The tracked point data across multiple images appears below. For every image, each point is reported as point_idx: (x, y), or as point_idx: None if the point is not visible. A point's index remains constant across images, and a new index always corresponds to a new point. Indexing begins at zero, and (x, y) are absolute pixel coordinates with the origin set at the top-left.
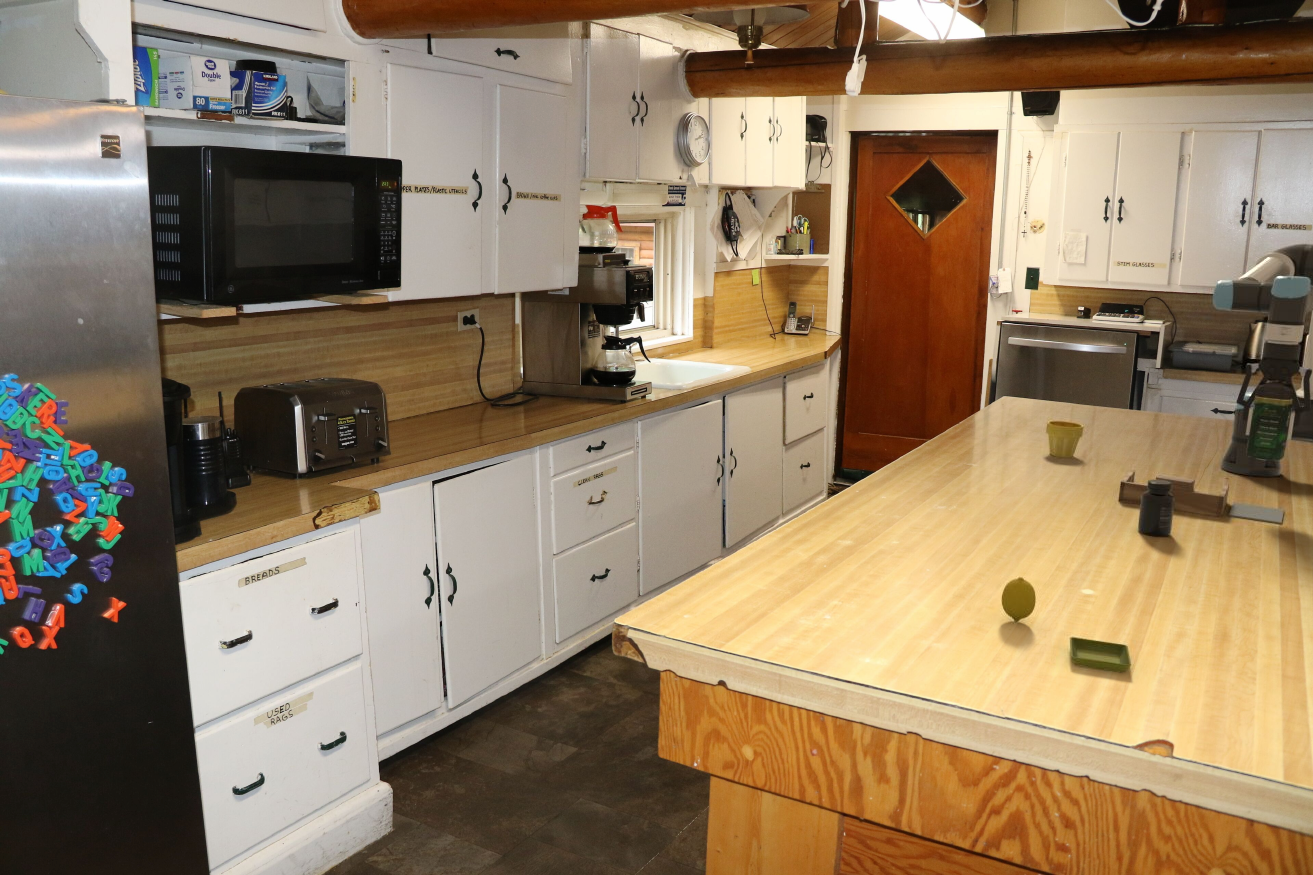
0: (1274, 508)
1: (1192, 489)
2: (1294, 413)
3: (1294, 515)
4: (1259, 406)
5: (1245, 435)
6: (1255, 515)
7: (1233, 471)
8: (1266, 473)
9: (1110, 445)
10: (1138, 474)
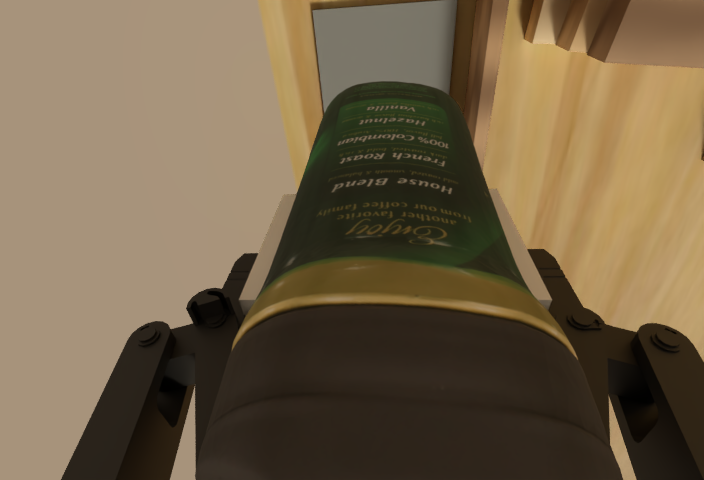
0: None
1: (597, 32)
2: (241, 297)
3: (304, 146)
4: (500, 266)
5: None
6: (385, 49)
7: None
8: None
9: None
10: (636, 303)
